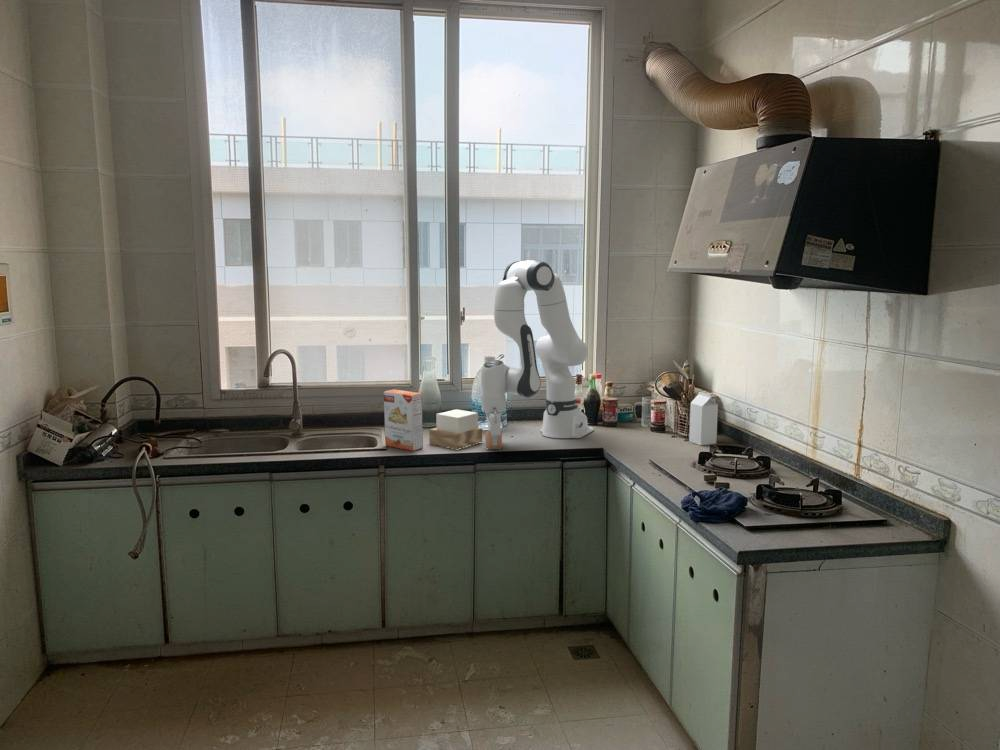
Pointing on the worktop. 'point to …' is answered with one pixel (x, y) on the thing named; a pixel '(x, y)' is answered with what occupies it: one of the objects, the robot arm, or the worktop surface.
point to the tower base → (455, 438)
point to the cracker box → (403, 419)
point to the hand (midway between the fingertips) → (493, 442)
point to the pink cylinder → (489, 441)
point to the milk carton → (703, 420)
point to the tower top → (457, 421)
